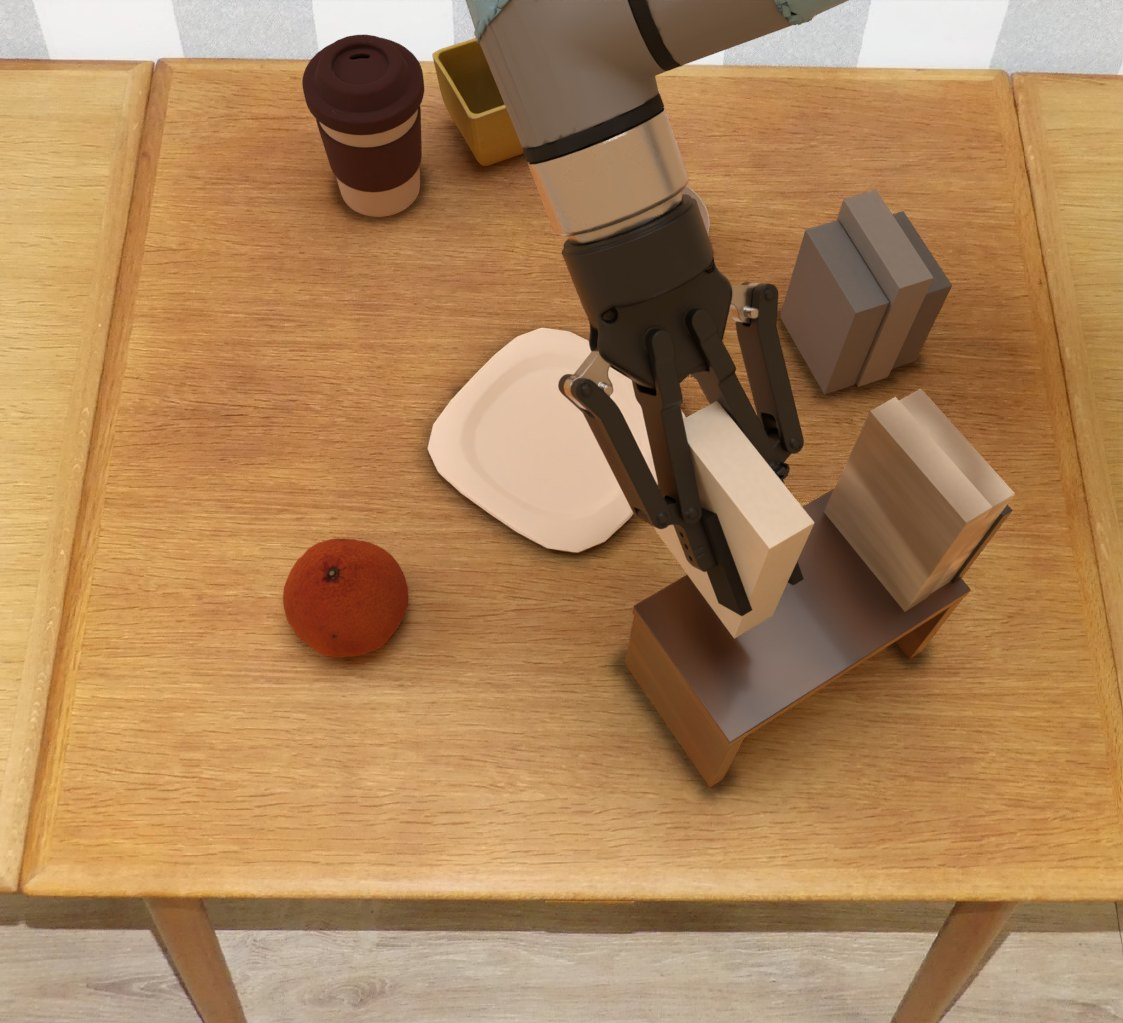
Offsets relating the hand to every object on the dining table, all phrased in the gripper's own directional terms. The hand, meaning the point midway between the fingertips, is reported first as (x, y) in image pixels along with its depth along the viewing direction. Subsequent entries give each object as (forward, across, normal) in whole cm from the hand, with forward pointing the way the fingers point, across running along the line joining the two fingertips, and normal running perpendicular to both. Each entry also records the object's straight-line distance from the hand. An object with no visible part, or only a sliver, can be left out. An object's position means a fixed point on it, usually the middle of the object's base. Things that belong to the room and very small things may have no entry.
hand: (760, 590), depth 72 cm
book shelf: (+14, -6, -15) cm, 21 cm away
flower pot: (-25, -14, -54) cm, 61 cm away
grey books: (0, -28, -29) cm, 41 cm away
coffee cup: (-25, -2, -54) cm, 60 cm away
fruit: (+1, +20, -29) cm, 35 cm away
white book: (0, 0, -6) cm, 6 cm away
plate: (-3, -2, -32) cm, 32 cm away
